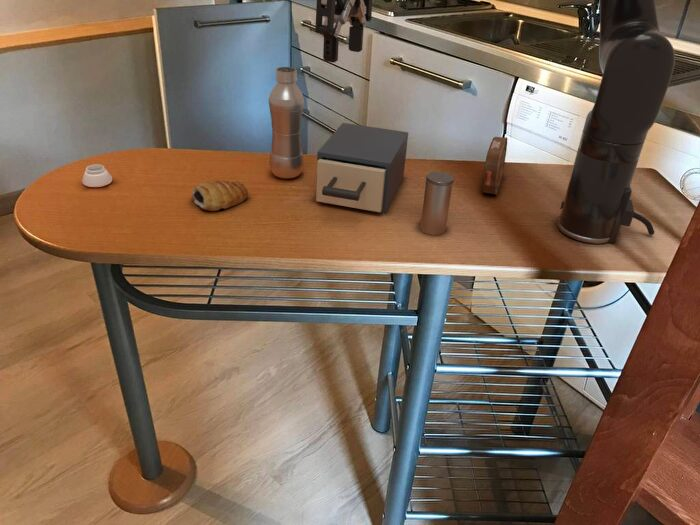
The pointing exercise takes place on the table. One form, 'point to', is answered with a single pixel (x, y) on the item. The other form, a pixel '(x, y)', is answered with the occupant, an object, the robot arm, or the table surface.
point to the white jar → (96, 176)
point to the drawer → (350, 184)
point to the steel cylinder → (436, 202)
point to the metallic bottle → (286, 124)
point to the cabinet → (370, 152)
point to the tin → (494, 165)
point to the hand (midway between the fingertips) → (343, 56)
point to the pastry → (218, 194)
